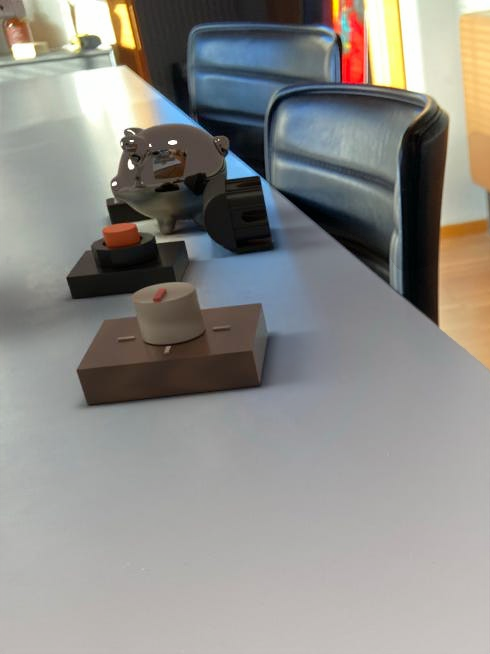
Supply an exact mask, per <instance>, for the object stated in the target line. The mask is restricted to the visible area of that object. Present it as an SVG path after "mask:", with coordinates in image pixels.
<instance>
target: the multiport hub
mask: <svg viewBox="0 0 490 654" xmlns="http://www.w3.org/2000/svg"><path fill="white" fill-rule="evenodd" d="M105 203H106V209H107V213H108V217H109V221H110V223H111V225H114V224H120V223H132V222H136V221H144V220H151V219H152V218H150V217H148V216H145V215H143V214H141V213H139V212H138V211H136V210H134V209H133V208H132V207H130V206H129V205H128V204H127V203H125V202H123V201H121V200H118V199H116V198H115V197H114V196H113V197H108V198H106V199H105Z"/></svg>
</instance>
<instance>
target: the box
mask: <svg viewBox="0 0 490 654" xmlns="http://www.w3.org/2000/svg"><path fill="white" fill-rule="evenodd" d="M138 233H139V236H140V240H141V241H139V242H137V243H134V244H130V245H125V246H116V247H109V246H106V244H105V240H104V237H102V238H100V239H96V240H95V241H93V242H92V243H91V245H90V250H85V251H84V252H83V254H82V255H81V256H80V257H79V259H78V261H76V263H75V264H74V266H73V267H72V268H71V270H70V271H69V273H67V275H66V277H65V279H66V283H67V285H68V286H67V287H68V289H69V293H70V295H71V299H82V298H90V297H100V296H109V295H110V296H111V295H117V294H127V293H135V292H137V291H139V290H141V289H143V288H146V287H149V286H153V285H157V284H162V283H171V282H182V281H181V280H182V279H183V276H184V273H185V271H186V269H187V267H188V264H189V262H190V258H189V254H188V253H189V252H188V249H187V245H186V241H185V240H175V241H166V242H157V241H156V236H155V235H154V234H152V233H150V232H145V231H143V232H142V231H138Z"/></svg>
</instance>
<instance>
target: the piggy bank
mask: <svg viewBox="0 0 490 654" xmlns="http://www.w3.org/2000/svg"><path fill="white" fill-rule="evenodd" d="M123 135H124V136H122V137H121V138H120V141H119V144H120V148H121V150H122V153H121V154H120V155H121V156H120V159H119V162H118V163H119V164H118V167H117V173H116V175H115V176H114V177H112V179H111V180H110V190H111V193H112V195H113V198H114V197H115V198H116V199H118V200H121V201H123V202H125V203H127V204H128V205H129V206H130V207H132V208H133V209H134V210H136V211H138V212H139V213H141V214H143V215H145V216H148V217H150V218H151V219H153V220H156V224H157V227H158V231H159V233H161V234H162V235H169V234H172V233H174V232H175V230H176V227H177V222H183V221H191V220H192V222H193V224H194V225H195V227H196V228H197V229H199V230H205V227H204V224H203V193H204V190H205V187H206V185H207V183H208V182H209V181H210V180H211V179H212V178H213V177H215V176H217V175H219V174H223V173H224V175H225V179H228V165H227V161H226V158H227V157H228V155H229V149H230V139H229V138H228V137H226V136H225V135H216V136H212V135H211V134H210V133H209V132H207V131H205V130H204V129H202V128H200V127H197V126H195V125H193V124H187V123H179V122H177V123H176V122H173V123H170V122H169V123H163V124H162V123H161V124H157V125H152V126H149V127H147V128H145V129H144V128H142V127H127V128H125V129H124V131H123Z"/></svg>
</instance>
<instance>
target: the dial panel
mask: <svg viewBox="0 0 490 654" xmlns="http://www.w3.org/2000/svg"><path fill="white" fill-rule="evenodd" d="M200 309H201V308H200ZM201 313H202V317H203V321H204V326H205V331H204V332H203V333H202V334H201V335H199V336H198V337H195V338H193V339H191V340H188V341H184V342H180V343H175V344H166V345H157V344H150V343H147V342H145V341H144V340H143V338H142V334H141V331H140V327H139V323H138V320H137V316H136V315H135V316H129V317H120V318H119V317H117V318H109V319H104V320H103V321H102V323H101V324H100V327H99V328H98V330H97V332H96V334H95V335H94V338H92V341H91V343H90V344H89V347H88V348H87V350H86V351H85V353H84V356H83V357H82V359H81V360H80V363H79V364H78V366H77V368H76V370H75V372H76V374H77V377H78V380H79V383H80V386H81V391H82V393H83V396H84V398H85V402H86V405H87V406H91V405H92V406H93V405H100V404H108V403H109V404H110V403H117V402H118V403H119V402H126V401H128V402H129V401H134V400H135V401H136V400H144V399H145V400H146V399H151V398H152V399H153V398H163V397H171V396H172V397H173V396H180V395H187V394H188V395H189V394H198V393H207V392H215V391H216V392H217V391H225V390H235V389H242V388H251V387H259V386H261V381H262V380H261V379H262V374H263V370H264V369H263V368H264V361H265V356H266V350H267V345H268V339H269V332H268V328H267V323H266V322H267V321H266V318H265V312H264V307H263V302H256V303H248V304H238V305H228V306H220V307H219V306H218V307H212V308H211V307H209V308H202V309H201Z"/></svg>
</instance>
